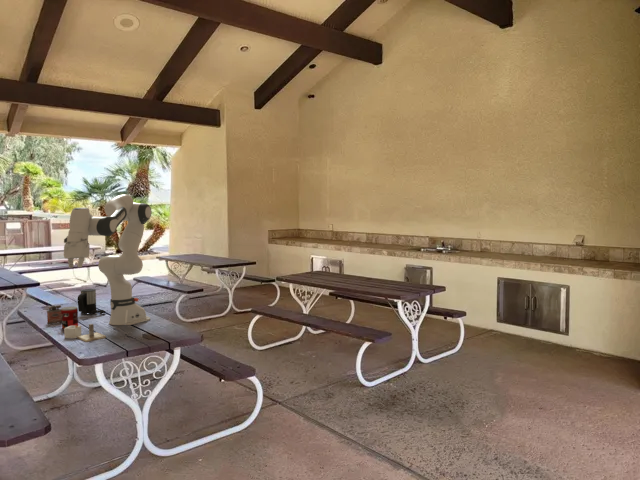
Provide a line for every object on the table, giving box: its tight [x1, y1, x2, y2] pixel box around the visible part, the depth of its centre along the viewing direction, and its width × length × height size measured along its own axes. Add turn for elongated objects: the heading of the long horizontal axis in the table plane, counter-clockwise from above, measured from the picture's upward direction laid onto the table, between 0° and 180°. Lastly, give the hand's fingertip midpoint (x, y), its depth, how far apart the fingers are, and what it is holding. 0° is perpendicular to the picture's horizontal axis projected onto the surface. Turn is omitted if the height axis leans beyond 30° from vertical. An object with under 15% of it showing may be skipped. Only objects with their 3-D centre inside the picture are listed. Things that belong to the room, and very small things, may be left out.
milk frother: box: [77, 288, 106, 315], centre depth 297 cm, size 14×16×15 cm
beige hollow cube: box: [63, 325, 82, 339], centre depth 244 cm, size 6×6×6 cm
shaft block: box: [77, 323, 107, 343], centre depth 241 cm, size 10×10×7 cm
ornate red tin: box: [46, 304, 62, 325], centre depth 273 cm, size 8×3×10 cm, turn 126°
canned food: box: [60, 306, 79, 330], centre depth 262 cm, size 8×8×11 cm
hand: (75, 267), depth 232 cm, fingers open, 8 cm apart
